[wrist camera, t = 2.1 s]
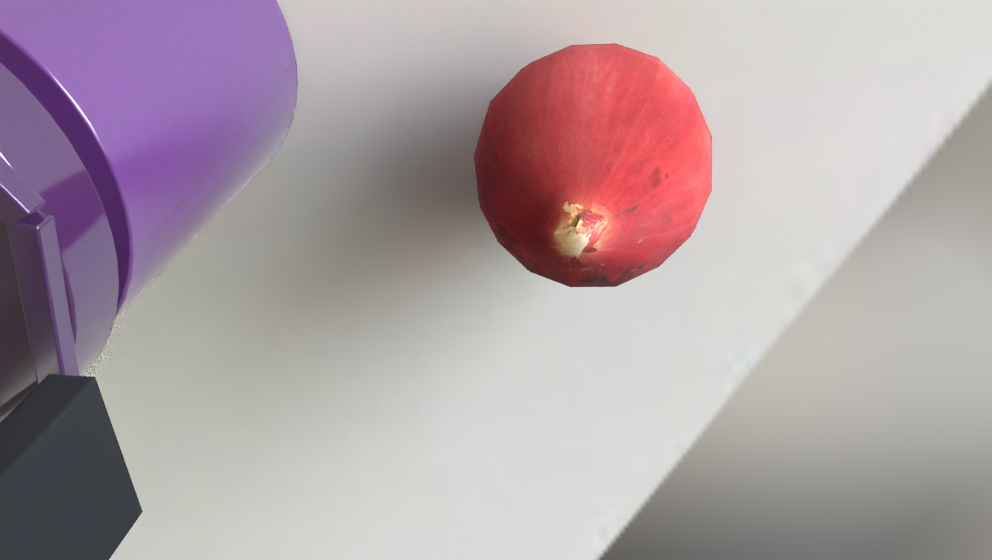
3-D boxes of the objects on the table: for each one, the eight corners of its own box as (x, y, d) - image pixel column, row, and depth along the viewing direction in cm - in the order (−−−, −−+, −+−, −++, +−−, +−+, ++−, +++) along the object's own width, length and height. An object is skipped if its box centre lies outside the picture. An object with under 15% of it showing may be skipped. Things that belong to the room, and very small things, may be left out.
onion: (706, 205, 26) (714, 370, 19) (511, 207, 27) (455, 363, 20) (711, 2, 23) (723, 113, 16) (492, 14, 24) (420, 122, 18)
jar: (170, 250, 30) (-105, 527, 20) (-58, 17, 27) (-528, 196, 17) (373, 96, 26) (163, 342, 16) (131, -200, 23) (-336, -146, 12)
